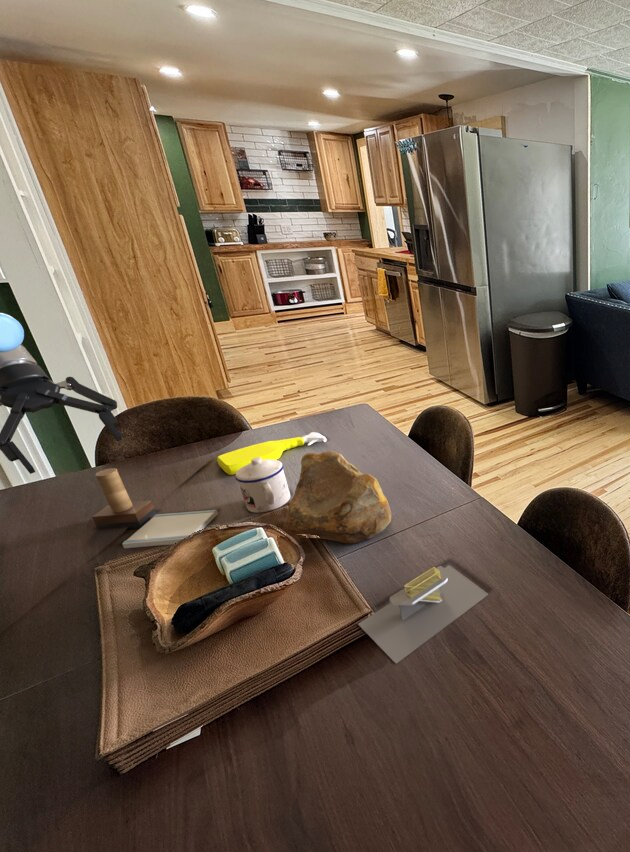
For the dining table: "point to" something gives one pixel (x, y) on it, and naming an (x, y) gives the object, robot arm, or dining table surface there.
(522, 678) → the dining table surface
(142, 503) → the rubber stamp
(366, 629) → the plastering trowel
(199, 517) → the tile
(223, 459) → the spray bottle
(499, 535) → the dining table surface
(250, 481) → the teacup with lid
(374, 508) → the rough brown rock
